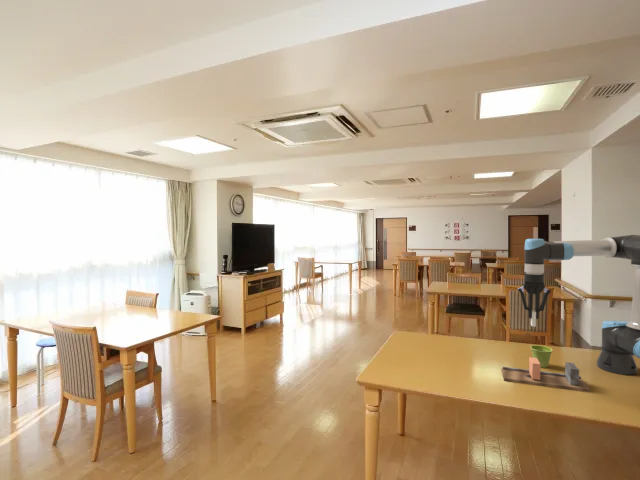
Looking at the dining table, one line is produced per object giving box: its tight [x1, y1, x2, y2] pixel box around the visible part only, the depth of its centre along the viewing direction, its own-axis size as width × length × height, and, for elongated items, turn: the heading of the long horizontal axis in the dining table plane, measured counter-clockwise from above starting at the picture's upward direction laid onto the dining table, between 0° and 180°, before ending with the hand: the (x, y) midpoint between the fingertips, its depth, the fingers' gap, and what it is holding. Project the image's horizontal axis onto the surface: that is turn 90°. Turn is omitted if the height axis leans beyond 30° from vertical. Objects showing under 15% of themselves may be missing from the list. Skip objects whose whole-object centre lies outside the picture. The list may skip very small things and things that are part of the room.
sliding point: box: [528, 356, 541, 380], centre depth 162 cm, size 3×8×7 cm, turn 159°
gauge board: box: [500, 361, 591, 393], centre depth 161 cm, size 32×12×8 cm, turn 69°
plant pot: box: [530, 344, 554, 369], centre depth 179 cm, size 9×9×9 cm
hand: (533, 325), depth 162 cm, fingers closed
